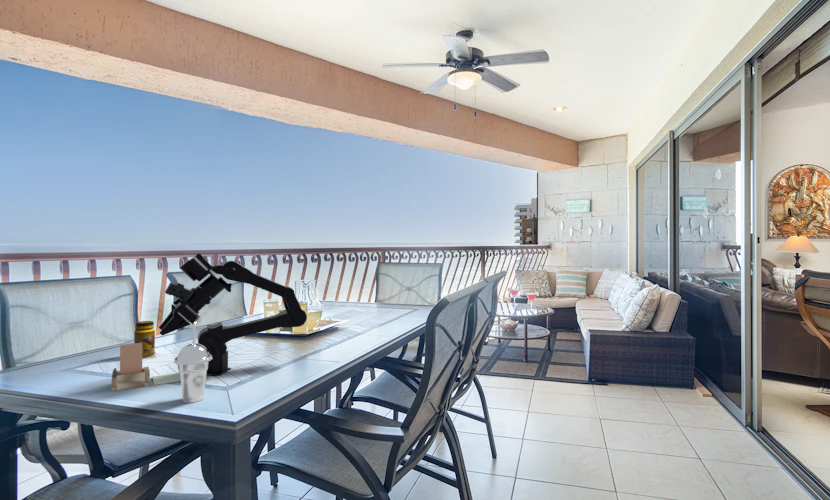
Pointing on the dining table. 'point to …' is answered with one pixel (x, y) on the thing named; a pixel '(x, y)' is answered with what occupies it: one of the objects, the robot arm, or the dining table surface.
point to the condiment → (145, 338)
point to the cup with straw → (193, 369)
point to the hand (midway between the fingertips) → (160, 331)
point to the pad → (166, 378)
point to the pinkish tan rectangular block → (130, 358)
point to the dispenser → (130, 379)
